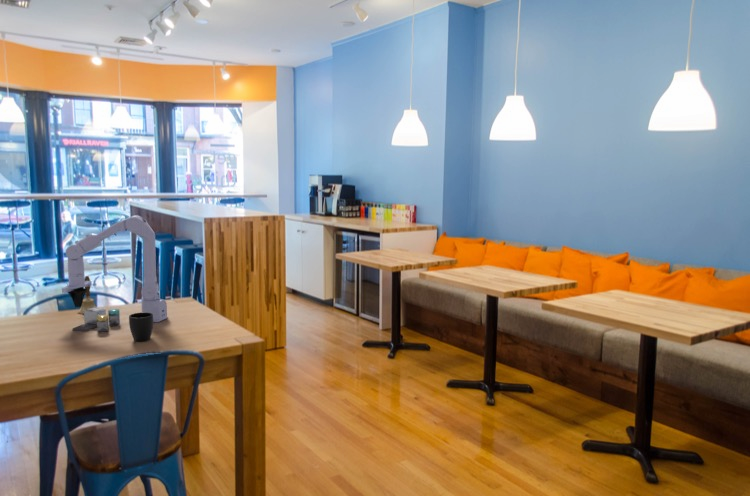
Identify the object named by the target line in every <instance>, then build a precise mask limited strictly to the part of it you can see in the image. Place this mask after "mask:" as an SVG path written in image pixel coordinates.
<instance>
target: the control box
mask: <svg viewBox="0 0 750 496" xmlns="http://www.w3.org/2000/svg"><path fill="white" fill-rule="evenodd" d="M100 315H107V313H106V308H99V307H96V308H91V309H88V310H85V311H84V314H83V319H84V324H88V325H97V316H100Z"/></svg>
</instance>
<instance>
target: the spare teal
mask: <svg viewBox="0 0 750 496" xmlns="http://www.w3.org/2000/svg"><path fill="white" fill-rule="evenodd" d="M107 314H108V324H109V327H118V326H120V325H121V321H120V320H121V319H120V317H121V316H120V314H121V313H120V309H119V308H112V309H108V310H107Z"/></svg>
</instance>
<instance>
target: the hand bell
mask: <svg viewBox="0 0 750 496" xmlns="http://www.w3.org/2000/svg"><path fill="white" fill-rule="evenodd" d="M85 281H91V279H90V276H88V275H87V276H86V275H85ZM84 288H86V289H87V292H86V293H85V297H84V298H83V302H82V306H81V307H80V309H79V310H78V311H77V313H78V314H81V315H84V311H85V310H88V309H91V308H97V306H96V305H95V299H94V298H91V286H87V287H84Z"/></svg>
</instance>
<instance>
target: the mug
mask: <svg viewBox="0 0 750 496" xmlns="http://www.w3.org/2000/svg"><path fill="white" fill-rule="evenodd" d="M128 324H129V325H128V326H129V329H130V333H131V336H132V338H133V341H134V343H136V342H137V343H143V342H148V341H150V339H151V337H152V333H153V329H154V328H153V327H154V322H153V314H152V313H149V312H142V311H141V312H140V311H139V312H134V313H131V314H129V315H128Z"/></svg>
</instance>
